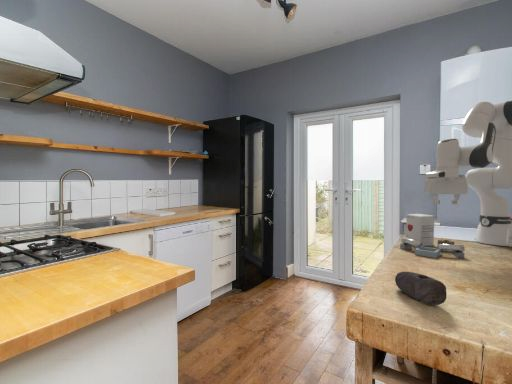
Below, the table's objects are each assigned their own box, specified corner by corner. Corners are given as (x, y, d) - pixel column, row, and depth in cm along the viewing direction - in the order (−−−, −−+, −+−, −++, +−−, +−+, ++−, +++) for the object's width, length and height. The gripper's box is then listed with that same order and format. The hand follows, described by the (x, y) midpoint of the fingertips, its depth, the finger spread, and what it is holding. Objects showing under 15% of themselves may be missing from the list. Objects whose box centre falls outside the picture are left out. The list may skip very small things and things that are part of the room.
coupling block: (445, 249, 130) (445, 238, 129) (454, 251, 125) (454, 240, 125) (437, 249, 129) (437, 238, 128) (446, 252, 124) (446, 240, 124)
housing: (420, 251, 125) (420, 246, 125) (440, 254, 120) (440, 249, 120) (414, 254, 120) (415, 249, 120) (435, 258, 114) (435, 252, 114)
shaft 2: (440, 256, 117) (440, 244, 116) (436, 254, 121) (436, 242, 121) (465, 258, 114) (465, 246, 114) (460, 255, 118) (460, 244, 118)
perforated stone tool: (388, 288, 82) (389, 265, 82) (403, 286, 84) (404, 264, 83) (431, 311, 68) (432, 283, 68) (448, 309, 69) (449, 281, 69)
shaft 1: (423, 252, 124) (423, 241, 124) (415, 252, 123) (416, 241, 123) (406, 247, 133) (407, 237, 133) (399, 248, 132) (399, 237, 131)
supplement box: (405, 242, 143) (405, 214, 143) (418, 241, 146) (419, 213, 145) (420, 246, 135) (421, 216, 134) (434, 245, 137) (435, 215, 137)
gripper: (459, 175, 131) (458, 203, 132) (422, 173, 128) (421, 203, 128) (472, 174, 125) (471, 204, 125) (433, 173, 121) (432, 204, 122)
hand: (445, 204), depth 127 cm, fingers open, 8 cm apart
